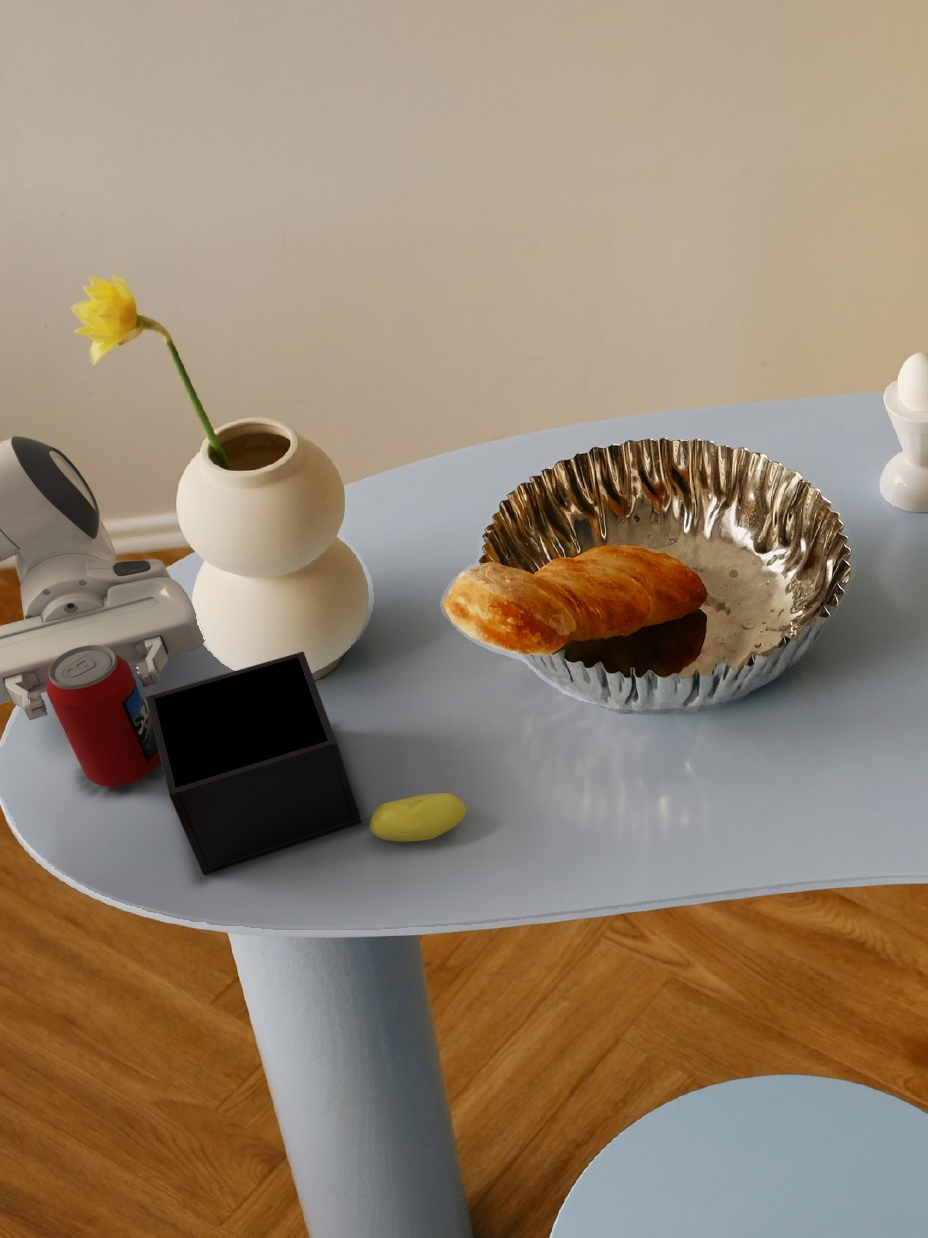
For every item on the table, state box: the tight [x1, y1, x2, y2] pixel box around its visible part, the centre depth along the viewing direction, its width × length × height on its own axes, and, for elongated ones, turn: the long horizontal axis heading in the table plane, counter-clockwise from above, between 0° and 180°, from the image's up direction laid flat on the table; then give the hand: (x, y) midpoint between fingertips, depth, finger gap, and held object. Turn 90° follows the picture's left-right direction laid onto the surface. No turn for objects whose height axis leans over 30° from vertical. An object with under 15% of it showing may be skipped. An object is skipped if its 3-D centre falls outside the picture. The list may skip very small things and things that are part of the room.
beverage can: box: [46, 645, 161, 787], centre depth 131 cm, size 7×7×12 cm
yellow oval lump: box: [369, 792, 467, 843], centre depth 128 cm, size 4×8×4 cm, turn 100°
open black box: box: [145, 651, 363, 876], centre depth 129 cm, size 13×13×10 cm
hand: (93, 696), depth 132 cm, fingers open, 8 cm apart
